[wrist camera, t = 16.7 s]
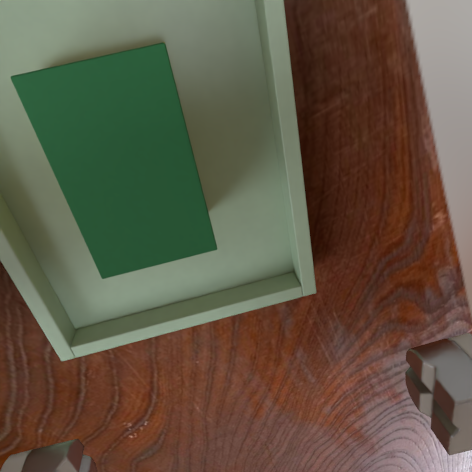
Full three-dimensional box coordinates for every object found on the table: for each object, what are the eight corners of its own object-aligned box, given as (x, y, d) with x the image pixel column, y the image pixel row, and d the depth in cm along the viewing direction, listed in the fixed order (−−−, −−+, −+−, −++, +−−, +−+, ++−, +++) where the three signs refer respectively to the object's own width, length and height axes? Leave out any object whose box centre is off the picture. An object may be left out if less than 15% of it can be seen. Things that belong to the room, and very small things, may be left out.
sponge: (44, 68, 15) (9, 76, 12) (164, 41, 15) (164, 41, 12) (113, 236, 19) (101, 280, 15) (208, 212, 19) (218, 250, 16)
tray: (249, -164, 13) (262, -196, 12) (304, 273, 23) (316, 293, 21) (-166, -83, 13) (-223, -103, 11) (69, 335, 22) (61, 362, 20)
